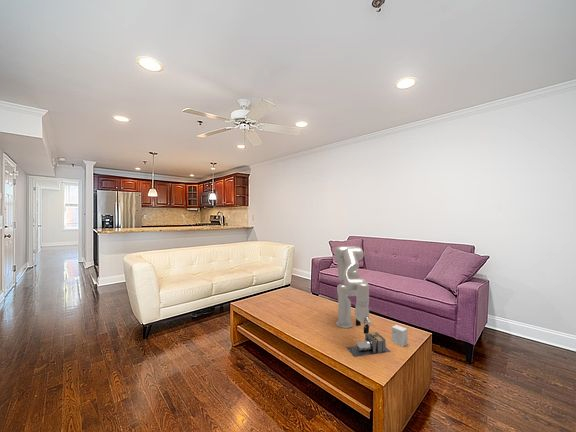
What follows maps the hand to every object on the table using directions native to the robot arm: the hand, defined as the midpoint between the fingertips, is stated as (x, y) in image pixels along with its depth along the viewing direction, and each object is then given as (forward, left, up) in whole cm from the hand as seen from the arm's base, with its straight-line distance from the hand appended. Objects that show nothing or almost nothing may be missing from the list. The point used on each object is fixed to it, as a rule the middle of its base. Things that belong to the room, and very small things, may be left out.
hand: (362, 329), depth 161 cm
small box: (-2, +28, -14) cm, 32 cm away
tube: (+1, +6, -13) cm, 14 cm away
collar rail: (+1, +4, -14) cm, 14 cm away
